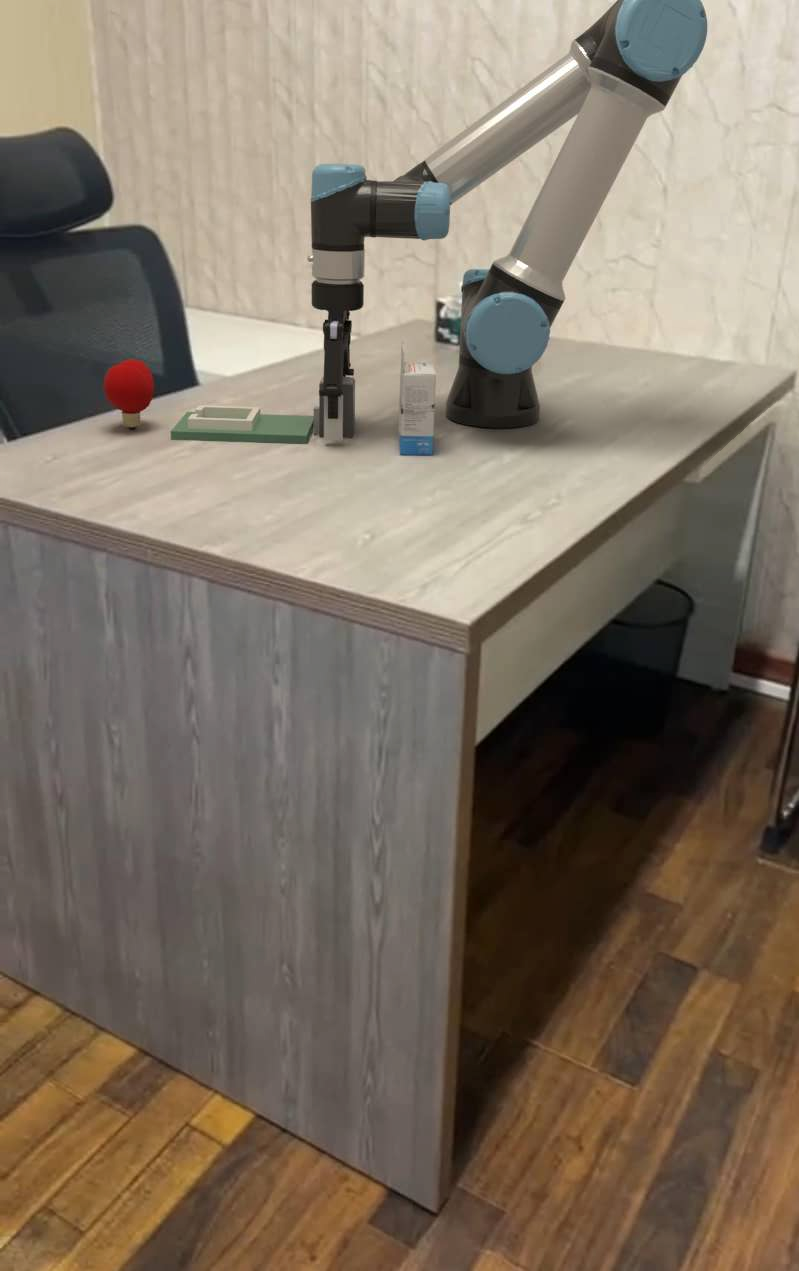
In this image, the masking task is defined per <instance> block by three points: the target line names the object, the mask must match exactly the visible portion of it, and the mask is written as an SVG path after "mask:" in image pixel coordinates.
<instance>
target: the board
mask: <svg viewBox="0 0 799 1271" xmlns="http://www.w3.org/2000/svg"><path fill="white" fill-rule="evenodd" d="M313 430H314V415H295V414H293V415H292V414H264V413H261V407H260V406H258V407H257V406H234V405H233V406H231V405H229V406H227V405H204V404H203V405H198V406H197V407H196V408H195V409H194V411H186V413H184V415H183V416H182V417H181V419H179V421H178V422H177V423H176V425H175V426H174V427H173V428H172V429H171V430H170V440H183V441H212V442H213V441H214V442H215V441H216V442H218V441H219V442H246V443H268V444H269V443H273V444H299V445H307V444H308V442H309V440H310V436H311V433H313Z"/></svg>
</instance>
